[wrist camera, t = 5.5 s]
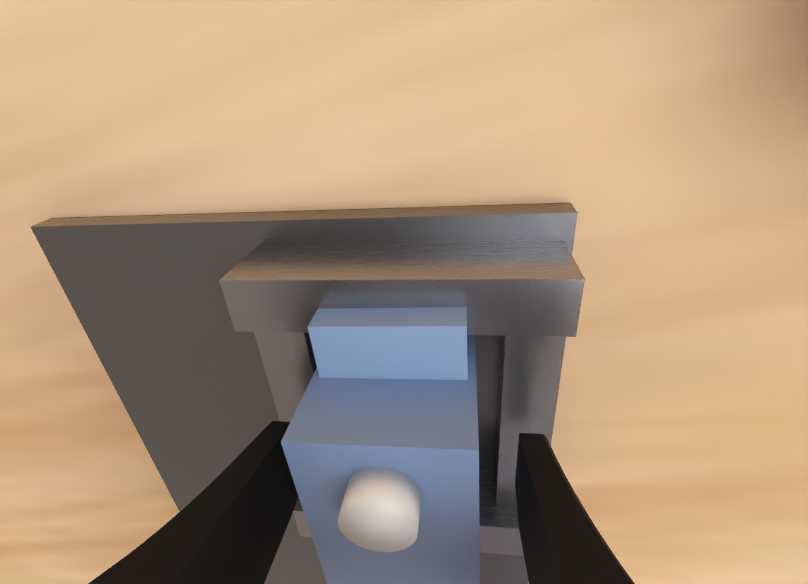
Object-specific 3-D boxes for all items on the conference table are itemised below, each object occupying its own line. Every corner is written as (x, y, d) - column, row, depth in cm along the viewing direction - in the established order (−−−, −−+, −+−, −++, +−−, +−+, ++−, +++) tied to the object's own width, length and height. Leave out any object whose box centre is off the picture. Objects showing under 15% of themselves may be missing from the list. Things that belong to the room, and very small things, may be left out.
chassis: (522, 596, 21) (530, 673, 18) (223, 565, 23) (193, 629, 20) (570, 203, 11) (602, 246, 9) (52, 218, 13) (-46, 256, 11)
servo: (475, 480, 16) (481, 677, 11) (373, 475, 16) (332, 658, 11) (473, 265, 12) (480, 425, 7) (334, 269, 12) (242, 417, 7)
